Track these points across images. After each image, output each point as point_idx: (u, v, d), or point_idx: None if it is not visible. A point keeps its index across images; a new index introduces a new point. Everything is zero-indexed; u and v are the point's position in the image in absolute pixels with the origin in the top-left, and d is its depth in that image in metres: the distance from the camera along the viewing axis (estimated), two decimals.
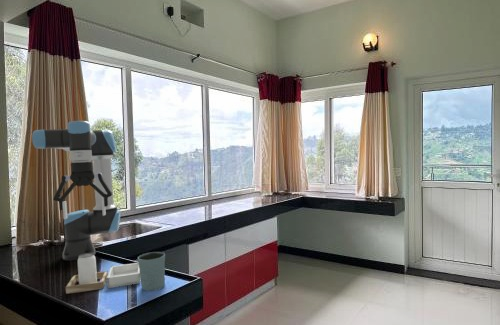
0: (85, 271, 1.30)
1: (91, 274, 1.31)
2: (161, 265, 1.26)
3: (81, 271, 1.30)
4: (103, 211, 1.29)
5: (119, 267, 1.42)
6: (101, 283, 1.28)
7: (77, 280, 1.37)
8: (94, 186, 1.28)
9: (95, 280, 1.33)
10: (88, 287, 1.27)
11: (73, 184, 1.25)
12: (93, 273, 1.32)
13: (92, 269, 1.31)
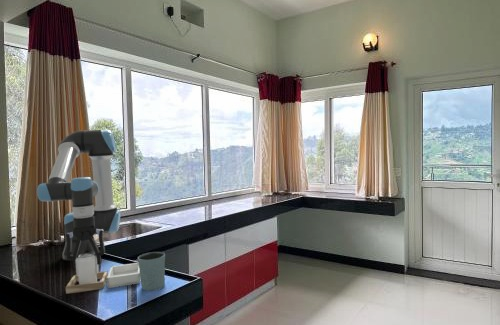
0: (85, 271, 1.30)
1: (91, 274, 1.31)
2: (161, 265, 1.26)
3: (81, 271, 1.30)
4: (96, 269, 1.33)
5: (119, 267, 1.42)
6: (101, 283, 1.28)
7: (77, 280, 1.37)
8: (92, 242, 1.32)
9: (95, 280, 1.33)
10: (88, 287, 1.27)
11: (78, 240, 1.30)
12: (93, 273, 1.32)
13: (92, 269, 1.31)
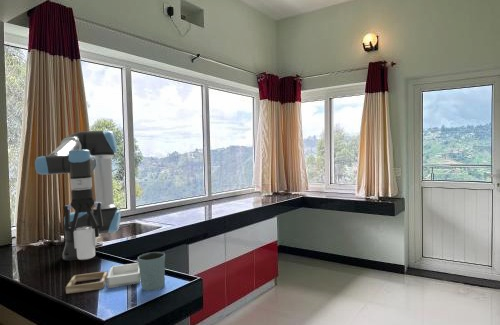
0: (83, 243, 1.30)
1: (89, 246, 1.31)
2: (161, 265, 1.26)
3: (79, 243, 1.30)
4: (94, 242, 1.32)
5: (119, 267, 1.42)
6: (101, 283, 1.28)
7: (77, 280, 1.37)
8: (90, 215, 1.32)
9: (93, 252, 1.33)
10: (88, 287, 1.27)
11: (76, 212, 1.30)
12: (91, 245, 1.32)
13: (90, 241, 1.31)
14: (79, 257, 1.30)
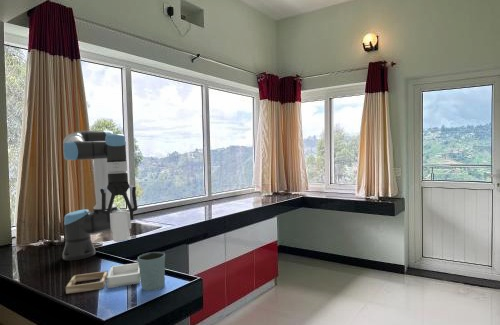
0: (119, 225, 1.33)
1: (124, 228, 1.34)
2: (161, 265, 1.26)
3: (115, 225, 1.33)
4: (129, 224, 1.36)
5: (119, 267, 1.42)
6: (101, 283, 1.28)
7: (77, 280, 1.37)
8: (126, 198, 1.35)
9: (128, 235, 1.36)
10: (88, 287, 1.27)
11: (113, 195, 1.33)
12: (126, 228, 1.35)
13: (126, 224, 1.34)
14: (115, 239, 1.33)
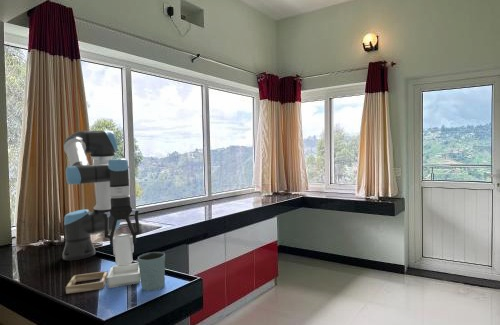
0: (122, 250, 1.33)
1: (127, 253, 1.34)
2: (161, 265, 1.26)
3: (118, 250, 1.33)
4: (132, 248, 1.36)
5: (119, 267, 1.42)
6: (101, 283, 1.28)
7: (77, 280, 1.37)
8: (128, 222, 1.36)
9: (131, 259, 1.36)
10: (88, 287, 1.27)
11: (115, 219, 1.34)
12: (129, 252, 1.35)
13: (129, 248, 1.35)
14: (118, 263, 1.34)
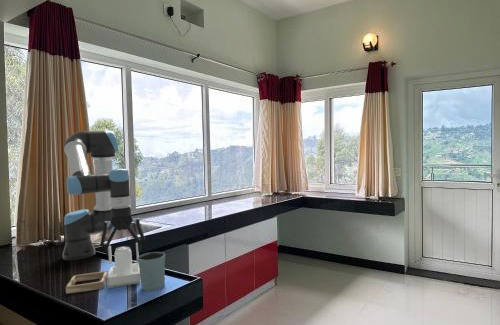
0: (123, 264, 1.34)
1: (127, 266, 1.35)
2: (161, 265, 1.26)
3: (118, 264, 1.33)
4: (137, 256, 1.37)
5: None
6: (101, 283, 1.28)
7: (77, 280, 1.37)
8: (131, 231, 1.36)
9: (131, 272, 1.36)
10: (88, 287, 1.27)
11: (115, 229, 1.34)
12: (129, 265, 1.35)
13: (129, 262, 1.35)
14: None
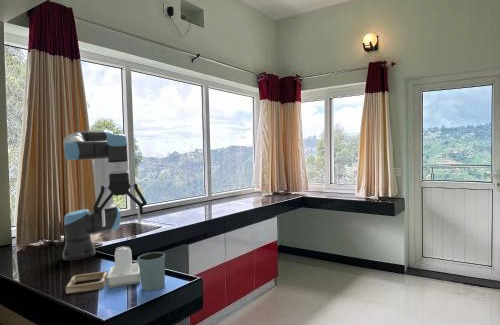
0: (123, 264, 1.34)
1: (127, 266, 1.35)
2: (161, 265, 1.26)
3: (118, 264, 1.33)
4: (139, 219, 1.37)
5: None
6: (101, 283, 1.28)
7: (77, 280, 1.37)
8: (130, 195, 1.36)
9: (131, 272, 1.36)
10: (88, 287, 1.27)
11: (111, 194, 1.33)
12: (129, 266, 1.35)
13: (129, 262, 1.35)
14: None
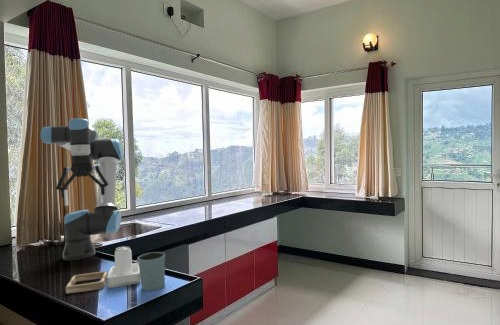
0: (123, 264, 1.34)
1: (127, 266, 1.35)
2: (161, 265, 1.26)
3: (118, 264, 1.33)
4: (100, 199, 1.44)
5: None
6: (101, 283, 1.28)
7: (77, 280, 1.37)
8: (92, 177, 1.43)
9: (131, 272, 1.36)
10: (88, 287, 1.27)
11: (73, 175, 1.41)
12: (129, 266, 1.35)
13: (129, 262, 1.35)
14: None
